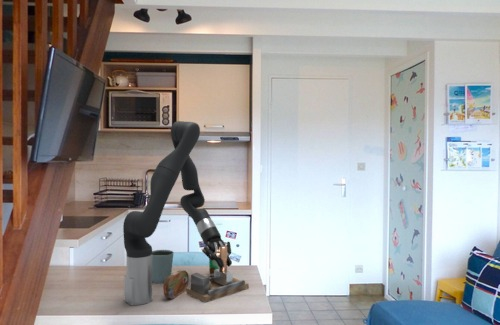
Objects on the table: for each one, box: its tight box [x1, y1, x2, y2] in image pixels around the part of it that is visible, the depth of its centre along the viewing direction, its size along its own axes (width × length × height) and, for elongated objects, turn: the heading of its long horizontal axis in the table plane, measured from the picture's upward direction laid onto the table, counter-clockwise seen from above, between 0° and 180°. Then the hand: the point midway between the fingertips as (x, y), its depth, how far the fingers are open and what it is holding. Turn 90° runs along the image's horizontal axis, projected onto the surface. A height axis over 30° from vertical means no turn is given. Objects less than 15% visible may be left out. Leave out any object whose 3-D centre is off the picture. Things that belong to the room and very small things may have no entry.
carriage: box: [214, 246, 233, 286], centre depth 155 cm, size 3×8×15 cm, turn 43°
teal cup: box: [152, 249, 174, 284], centre depth 166 cm, size 10×10×12 cm
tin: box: [162, 269, 190, 300], centre depth 150 cm, size 15×3×8 cm, turn 159°
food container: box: [208, 258, 219, 278], centre depth 175 cm, size 12×6×10 cm, turn 179°
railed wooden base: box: [186, 272, 250, 303], centre depth 153 cm, size 22×12×8 cm, turn 133°
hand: (226, 266), depth 154 cm, fingers closed on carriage, 3 cm apart
